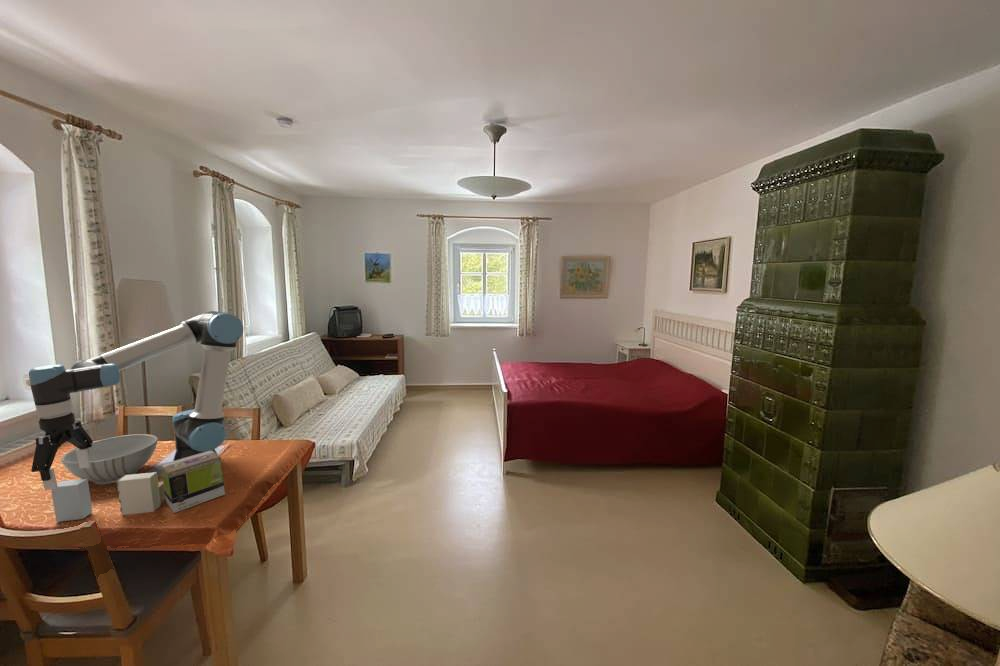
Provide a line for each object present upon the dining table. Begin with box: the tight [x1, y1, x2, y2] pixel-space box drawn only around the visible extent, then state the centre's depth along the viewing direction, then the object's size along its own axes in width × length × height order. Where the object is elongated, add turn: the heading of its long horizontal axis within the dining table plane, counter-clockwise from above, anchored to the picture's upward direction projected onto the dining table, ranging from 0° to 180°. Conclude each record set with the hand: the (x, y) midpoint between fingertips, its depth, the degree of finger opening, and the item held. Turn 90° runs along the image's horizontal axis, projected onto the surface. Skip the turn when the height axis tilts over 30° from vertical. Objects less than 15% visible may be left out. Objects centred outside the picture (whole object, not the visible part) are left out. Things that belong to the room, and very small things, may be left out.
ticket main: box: [116, 471, 166, 516], centre depth 135 cm, size 9×9×12 cm
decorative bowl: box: [60, 433, 159, 485], centre depth 155 cm, size 27×27×12 cm
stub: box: [50, 478, 93, 523], centre depth 128 cm, size 4×7×12 cm, turn 104°
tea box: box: [160, 450, 226, 514], centre depth 139 cm, size 15×10×15 cm, turn 141°
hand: (69, 477), depth 128 cm, fingers open, 13 cm apart
